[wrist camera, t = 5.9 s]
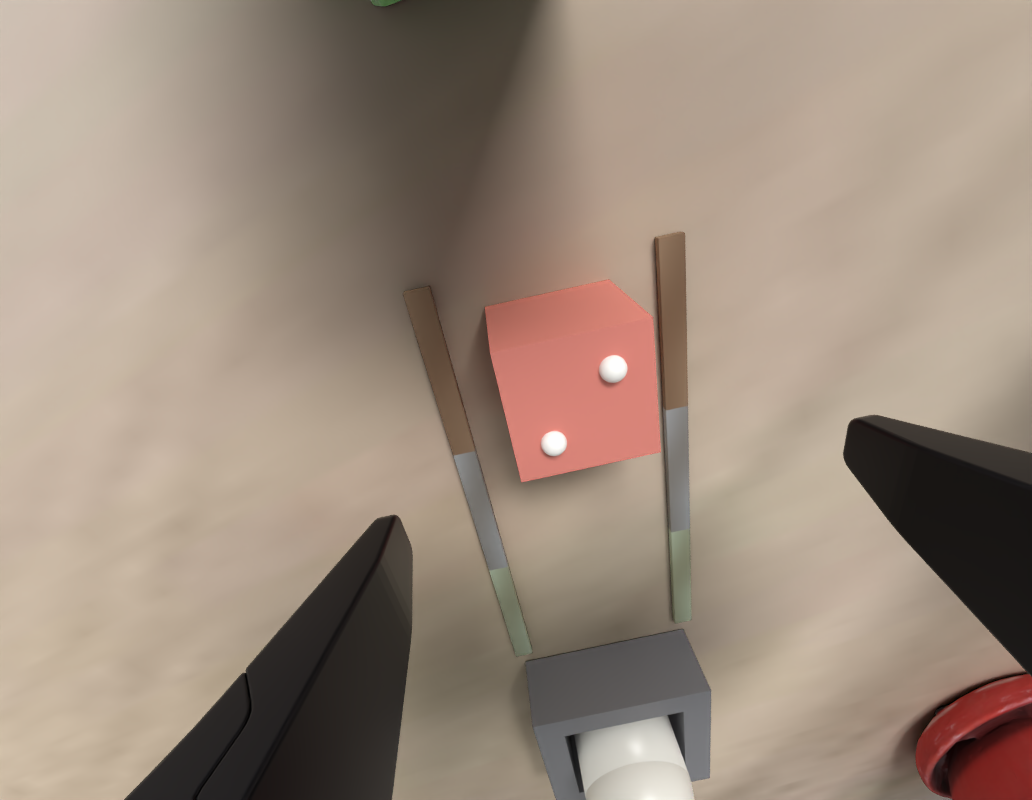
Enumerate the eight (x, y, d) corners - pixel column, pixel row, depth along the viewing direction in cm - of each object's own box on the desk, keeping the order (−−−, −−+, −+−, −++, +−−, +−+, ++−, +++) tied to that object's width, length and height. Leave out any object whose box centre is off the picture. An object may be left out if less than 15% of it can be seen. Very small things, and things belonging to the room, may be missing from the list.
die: (608, 278, 15) (659, 321, 11) (619, 389, 16) (666, 460, 13) (484, 306, 15) (491, 359, 11) (509, 413, 17) (522, 491, 13)
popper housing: (683, 628, 23) (711, 690, 20) (685, 716, 27) (709, 778, 24) (525, 661, 23) (532, 727, 20) (550, 744, 27) (558, 808, 24)
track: (680, 231, 14) (684, 232, 14) (688, 614, 22) (691, 620, 22) (404, 291, 14) (402, 293, 14) (515, 650, 23) (516, 656, 22)
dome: (655, 662, 23) (715, 823, 18) (659, 713, 26) (713, 871, 20) (562, 681, 23) (592, 847, 18) (574, 731, 26) (605, 893, 20)
